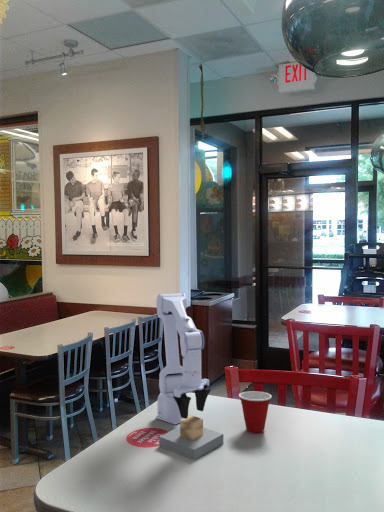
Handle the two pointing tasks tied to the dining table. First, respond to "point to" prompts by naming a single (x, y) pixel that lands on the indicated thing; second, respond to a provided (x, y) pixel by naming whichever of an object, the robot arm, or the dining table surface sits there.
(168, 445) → the slate base
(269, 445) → the dining table surface
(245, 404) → the plastic cup
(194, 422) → the oak cube
